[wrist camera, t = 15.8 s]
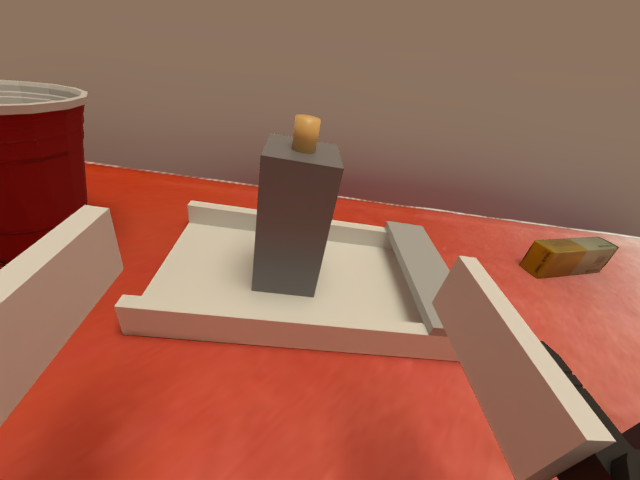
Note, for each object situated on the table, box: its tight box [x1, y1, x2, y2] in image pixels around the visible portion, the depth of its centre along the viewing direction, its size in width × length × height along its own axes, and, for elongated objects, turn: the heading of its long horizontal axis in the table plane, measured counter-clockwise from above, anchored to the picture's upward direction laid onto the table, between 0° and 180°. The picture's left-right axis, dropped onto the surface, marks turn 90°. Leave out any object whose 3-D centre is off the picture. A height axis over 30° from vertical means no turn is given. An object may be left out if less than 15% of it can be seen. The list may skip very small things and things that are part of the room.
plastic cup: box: [0, 80, 88, 264], centre depth 21 cm, size 11×11×12 cm
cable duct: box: [114, 201, 459, 361], centre depth 25 cm, size 24×14×3 cm, turn 92°
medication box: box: [519, 237, 619, 279], centre depth 36 cm, size 12×3×4 cm, turn 108°
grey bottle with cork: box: [251, 114, 344, 298], centre depth 22 cm, size 5×5×13 cm
